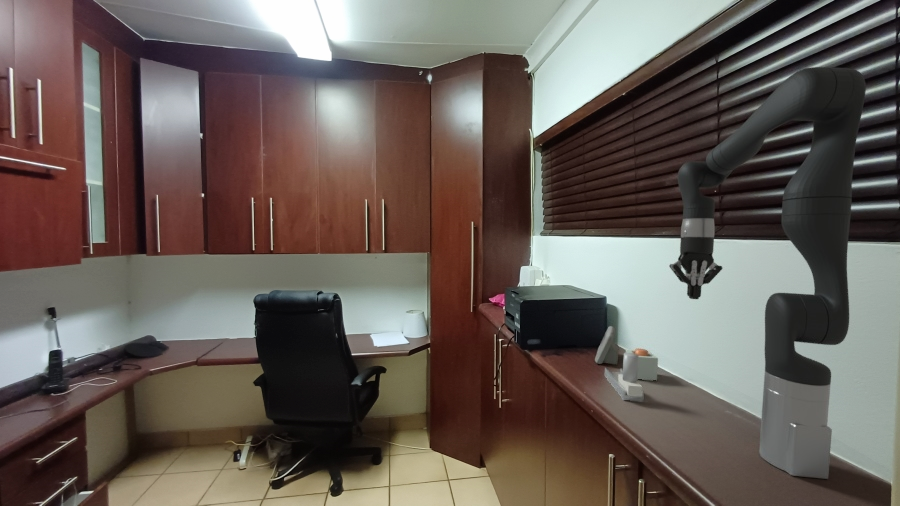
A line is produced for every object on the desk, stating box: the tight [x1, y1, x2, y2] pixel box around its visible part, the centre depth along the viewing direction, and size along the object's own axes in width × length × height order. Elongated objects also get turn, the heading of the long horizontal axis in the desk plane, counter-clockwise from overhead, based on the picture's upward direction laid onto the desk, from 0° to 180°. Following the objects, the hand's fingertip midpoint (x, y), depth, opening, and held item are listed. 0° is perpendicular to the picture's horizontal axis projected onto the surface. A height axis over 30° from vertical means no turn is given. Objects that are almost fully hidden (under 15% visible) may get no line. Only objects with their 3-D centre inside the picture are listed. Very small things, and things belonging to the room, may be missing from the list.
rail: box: [604, 367, 645, 403], centre depth 105 cm, size 17×5×3 cm, turn 173°
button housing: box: [625, 349, 659, 382], centre depth 115 cm, size 7×7×7 cm
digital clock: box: [594, 325, 619, 366], centre depth 130 cm, size 16×9×11 cm, turn 142°
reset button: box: [634, 348, 649, 356], centre depth 115 cm, size 4×4×3 cm
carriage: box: [618, 352, 643, 397], centre depth 99 cm, size 8×4×10 cm, turn 173°
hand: (693, 298), depth 100 cm, fingers closed
